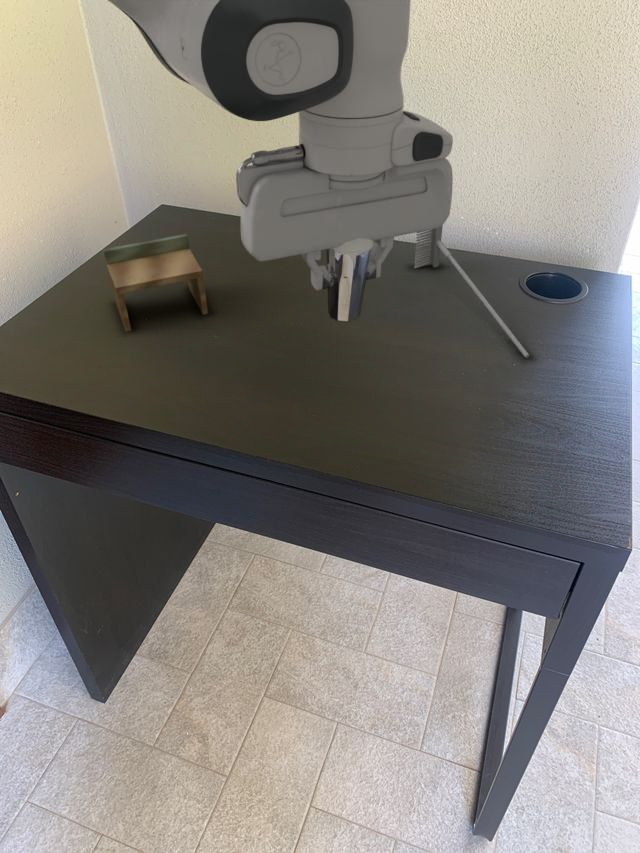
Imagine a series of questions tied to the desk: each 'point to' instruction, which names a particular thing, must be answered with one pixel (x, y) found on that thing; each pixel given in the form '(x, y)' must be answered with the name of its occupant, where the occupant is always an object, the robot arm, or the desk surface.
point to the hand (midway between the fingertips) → (346, 281)
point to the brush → (433, 258)
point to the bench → (153, 269)
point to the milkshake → (348, 278)
